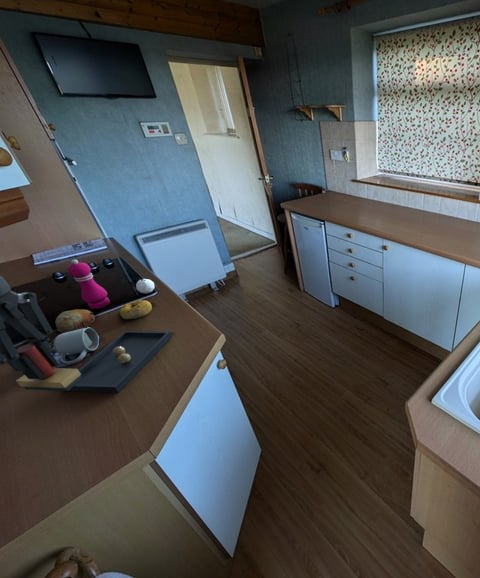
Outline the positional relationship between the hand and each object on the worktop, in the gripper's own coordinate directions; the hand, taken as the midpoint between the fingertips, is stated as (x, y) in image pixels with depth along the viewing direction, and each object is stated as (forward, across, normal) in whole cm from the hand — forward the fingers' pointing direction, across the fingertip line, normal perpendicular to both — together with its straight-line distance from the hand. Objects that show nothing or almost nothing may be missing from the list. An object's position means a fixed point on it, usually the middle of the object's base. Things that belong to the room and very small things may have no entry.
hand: (44, 371), depth 65 cm
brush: (+4, 0, 0) cm, 4 cm away
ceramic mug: (+19, +24, +23) cm, 38 cm away
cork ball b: (+16, +20, +5) cm, 26 cm away
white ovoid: (+15, +60, +28) cm, 68 cm away
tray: (+18, +21, +7) cm, 28 cm away
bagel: (+19, +46, +21) cm, 54 cm away
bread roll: (+19, +37, +37) cm, 56 cm away
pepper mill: (+19, +50, +40) cm, 67 cm away
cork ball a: (+16, +23, +9) cm, 29 cm away
